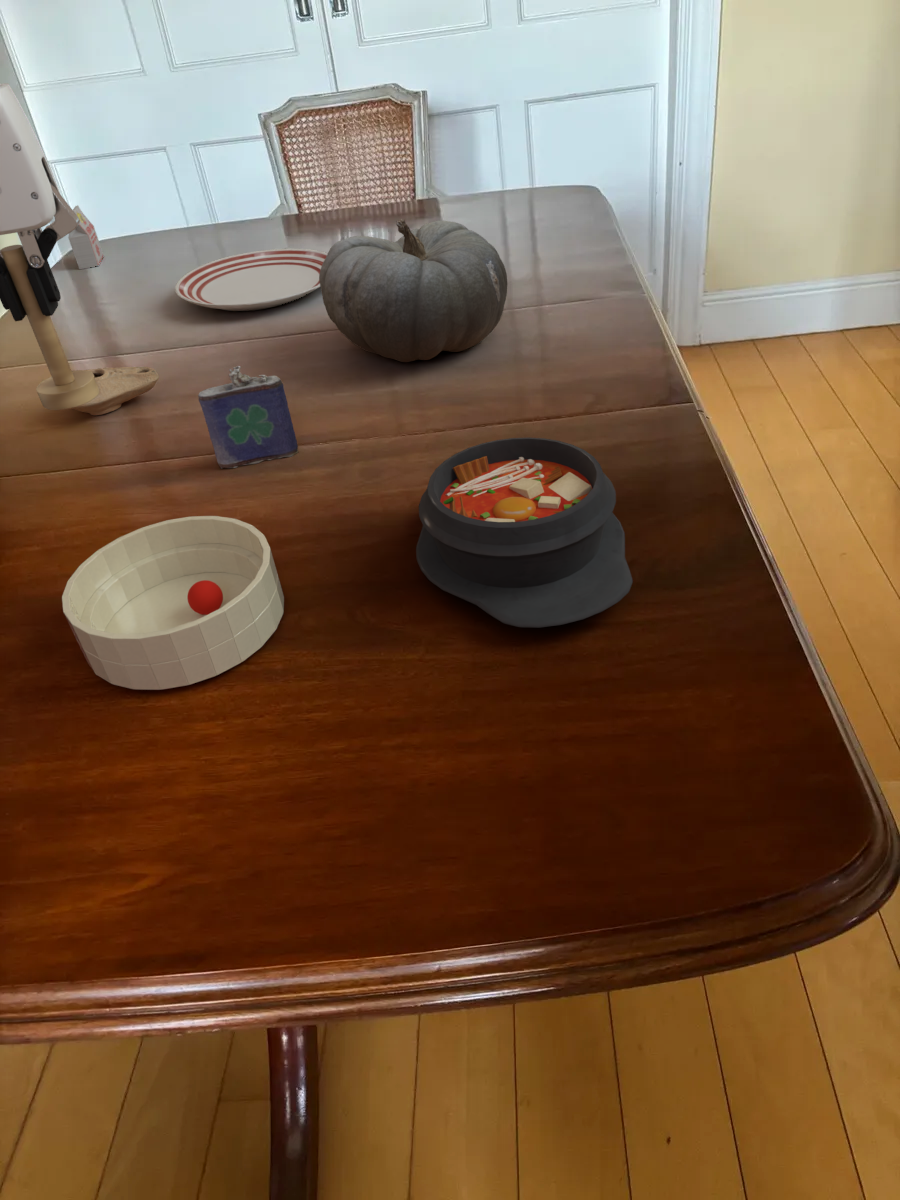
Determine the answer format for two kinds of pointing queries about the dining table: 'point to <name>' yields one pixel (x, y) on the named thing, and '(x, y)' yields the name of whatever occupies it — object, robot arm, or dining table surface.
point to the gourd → (415, 290)
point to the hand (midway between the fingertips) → (36, 311)
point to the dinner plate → (253, 279)
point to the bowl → (174, 602)
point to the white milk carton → (85, 242)
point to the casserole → (524, 532)
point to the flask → (248, 420)
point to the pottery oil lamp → (118, 387)
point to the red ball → (205, 597)
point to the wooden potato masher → (49, 344)
